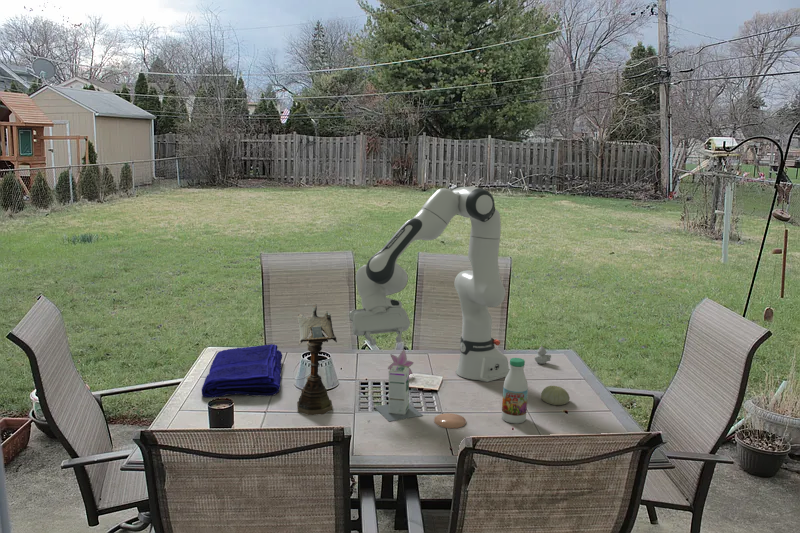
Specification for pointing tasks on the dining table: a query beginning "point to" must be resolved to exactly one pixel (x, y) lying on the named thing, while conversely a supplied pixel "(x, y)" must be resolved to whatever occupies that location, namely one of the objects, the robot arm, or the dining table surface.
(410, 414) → the tile
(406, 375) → the syrup box
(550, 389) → the sea urchin shell
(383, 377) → the dining table surface
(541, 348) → the grey figurine
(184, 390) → the dining table surface
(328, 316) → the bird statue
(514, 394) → the milk bottle
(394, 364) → the lily
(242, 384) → the towel
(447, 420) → the coaster
